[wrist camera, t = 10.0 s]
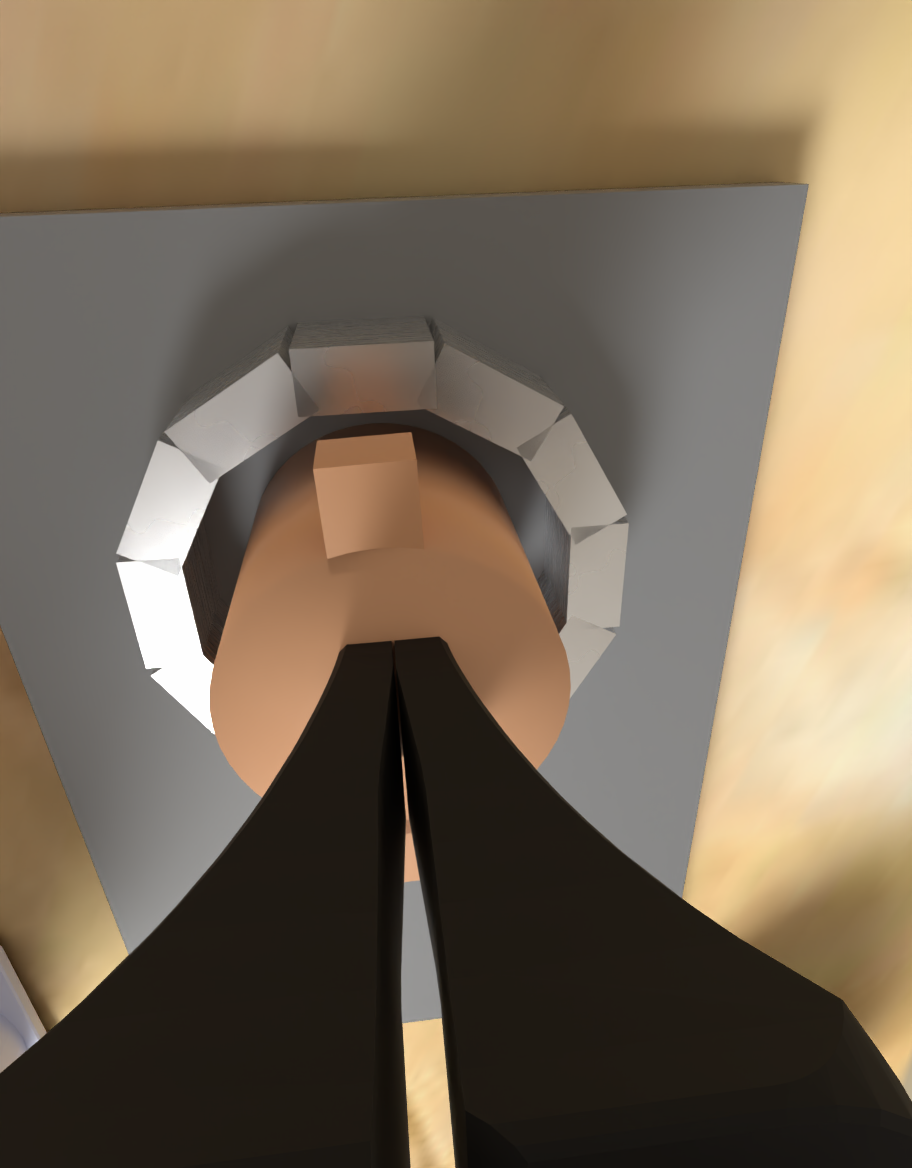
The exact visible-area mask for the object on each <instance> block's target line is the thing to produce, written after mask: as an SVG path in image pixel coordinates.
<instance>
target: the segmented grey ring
mask: <svg viewBox="0 0 912 1168" xmlns="http://www.w3.org/2000/svg"><path fill="white" fill-rule="evenodd" d="M419 409H426V410H428V411H430V412H432V413H434V414H436V415H438V416H440V417H442V418H444V419H446V420H448V421H450V422H452V423H454V424H456V425H458V426H461V427H463V428H465V429H467V430H469V431H471V432H473V433H475V434H477V435H479V436H481V437H483V438H485V439H487V440H489V441H491V442H493V443H495V444H497V445H499V446H501V447H503V448H505V449H507V450H509V451H511V452H513V453H515V454H518V455H520V456H522V458H523V459H524V461H525V463H526V464H527V466H528V468H529V469H530V471H531V472H532V474H533V476H534V477H535V479H536V481H537V482H538V484H539V486H540V487H541V489H542V490H543V492H544V494H545V495H546V503H545V536H544V568H543V572H542V574H541V575H540V577H539V578H538V580H537V583H538V585H539V588H540V590H541V592H542V595H543V597H544V599H545V602H546V604H547V607H548V609H549V611H550V614H551V616H552V619H553V621H554V623H555V626H556V628H557V631H558V633H559V635H560V638H561V640H562V643H563V645H564V648H565V650H566V654H567V659H568V663H569V668H570V682H571V690H570V698H571V696H572V695H573V694H574V692H575V691H576V689H577V688H578V687H579V685H580V684H581V683H582V681H583V680H584V678H585V677H586V676H587V674H588V673H589V671H590V670H591V669H592V667H593V666H594V665H595V663H596V662H597V660H598V659H599V658H600V656H601V655H602V653H603V652H604V651H605V649H606V648H607V647H608V645H609V644H610V642H611V641H612V640H613V638H614V637H615V635H616V632H615V631H614V629H613V627H619V626H620V615H621V604H622V593H623V582H624V571H625V560H626V549H627V538H628V527H629V523H628V521H627V520H626V519H625V517H624V516H625V515H627V513H626V512H625V510H624V508H623V506H622V504H621V502H620V501H619V499H618V497H617V495H616V493H615V492H614V490H613V488H612V486H611V484H610V483H609V481H608V479H607V477H606V475H605V474H604V472H603V470H602V468H601V466H600V464H599V463H598V461H597V459H596V457H595V455H594V454H593V452H592V450H591V448H590V446H589V445H588V443H587V441H586V439H585V437H584V436H583V434H582V432H581V430H580V428H579V427H578V425H577V423H576V421H575V419H574V417H573V416H572V414H571V413H570V411H569V410H568V409H567V408H566V406H565V405H564V404H563V403H562V402H561V400H560V399H559V398H558V397H557V395H556V394H555V393H554V392H553V391H552V389H551V388H550V387H549V386H548V384H547V383H546V382H545V381H543V380H542V379H541V377H540V376H539V375H538V374H537V373H535V372H533V371H531V370H529V369H528V368H526V367H524V366H522V365H520V364H518V363H516V362H515V361H513V360H511V359H509V358H507V357H505V356H503V355H502V354H500V353H498V352H496V351H494V350H492V349H490V348H488V347H487V346H485V345H483V344H481V343H479V342H477V341H475V340H474V339H472V338H470V337H468V336H466V335H464V334H462V333H460V332H459V331H457V330H455V329H453V328H451V327H449V326H447V325H446V324H444V323H442V322H440V321H438V320H436V319H434V318H433V320H432V322H431V324H430V326H429V328H428V325H427V323H426V321H425V318H424V316H410V317H392V318H373V319H354V320H335V321H316V322H298V324H297V327H296V330H295V333H293V331H292V330H291V329H290V327H289V326H287V327H286V328H284V329H283V330H282V331H280V332H279V333H277V334H276V335H274V336H273V337H272V338H270V339H269V340H267V341H266V342H264V343H263V344H262V345H260V346H259V347H257V348H256V349H254V350H253V351H252V352H250V353H249V354H247V355H246V356H244V357H243V358H242V359H240V360H239V361H237V362H236V363H234V364H233V365H232V366H230V367H229V368H227V369H226V370H224V371H223V372H222V373H220V374H219V375H217V376H216V377H214V378H213V379H212V380H210V381H209V382H207V383H206V384H204V385H203V386H202V387H200V388H199V389H197V390H196V391H195V392H193V393H192V394H190V395H189V397H188V398H187V400H186V401H185V402H184V403H183V404H182V406H181V407H180V409H179V410H178V412H177V413H176V415H175V416H174V417H173V419H172V420H171V422H170V423H169V425H168V426H167V428H166V429H165V431H164V432H163V433H162V435H161V436H160V438H159V439H158V441H157V444H156V446H155V449H154V452H153V455H152V457H151V460H150V463H149V466H148V468H147V471H146V474H145V476H144V479H143V482H142V485H141V487H140V490H139V493H138V495H137V498H136V501H135V504H134V506H133V509H132V512H131V515H130V517H129V520H128V523H127V525H126V528H125V531H124V534H123V536H122V539H121V542H120V545H119V547H118V550H117V553H116V554H119V555H120V557H119V559H118V560H117V562H116V565H117V568H118V572H119V575H120V578H121V582H122V585H123V589H124V592H125V596H126V599H127V603H128V606H129V610H130V613H131V617H132V620H133V624H134V627H135V631H136V634H137V638H138V641H139V645H140V648H141V652H142V655H143V659H144V662H145V666H146V668H154V670H153V672H152V675H151V676H152V677H153V678H154V679H155V680H156V681H157V682H158V683H159V684H161V685H162V686H163V687H164V688H165V689H166V690H167V691H168V692H169V693H170V694H171V695H173V696H174V697H175V698H176V699H177V700H178V701H179V702H180V703H181V704H182V705H183V706H185V707H186V708H187V709H188V710H189V711H190V712H191V713H192V714H193V715H194V716H195V717H197V718H198V719H199V720H200V721H201V722H202V723H203V724H204V725H205V726H206V727H207V728H209V729H210V730H211V731H212V732H213V733H214V730H213V726H212V721H211V716H210V711H209V687H210V681H211V674H212V669H213V666H214V662H215V658H216V655H217V651H218V648H219V644H220V641H221V637H222V633H223V630H224V626H225V623H226V619H227V616H228V612H229V608H230V607H229V606H228V605H227V604H226V603H225V602H224V600H223V599H222V598H221V597H220V593H219V589H218V584H217V579H216V575H215V570H214V565H213V561H212V556H211V551H210V547H209V542H208V537H207V533H206V528H205V524H204V519H203V516H204V513H205V511H206V509H207V506H208V504H209V501H210V499H211V496H212V494H213V492H214V489H215V487H216V484H217V482H218V479H219V477H220V476H222V475H223V474H225V473H226V472H228V471H229V470H231V469H232V468H234V467H235V466H237V465H238V464H240V463H241V462H243V461H244V460H246V459H247V458H249V457H250V456H252V455H253V454H255V453H256V452H258V451H259V450H261V449H262V448H264V447H265V446H267V445H268V444H270V443H271V442H273V441H274V440H276V439H277V438H279V437H280V436H281V435H283V434H284V433H286V432H287V431H289V430H290V429H292V428H293V427H295V426H296V425H298V424H299V423H301V422H302V421H304V420H305V419H307V418H308V417H310V416H324V415H340V414H356V413H372V412H388V411H404V410H419ZM214 734H215V733H214Z"/></svg>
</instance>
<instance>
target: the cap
mask: <svg viewBox="0 0 912 1168" xmlns="http://www.w3.org/2000/svg"><path fill="white" fill-rule="evenodd" d="M438 636H439V637H441V638H442V639H443V640H444V641H445V642H447V643H448V646H449V648H450V650H451V652H452V654H453V656H454V658H455V660H456V662H457V664H458V665H459V667H460V669H461V670H462V672H463V674H464V675H465V677H466V678H467V680H468V682H469V683H470V685H471V686H472V688H473V689H474V691H475V692H476V694H477V695H478V697H479V698H480V700H481V701H482V702H483V704H484V705H485V707H486V708H487V709H488V711H489V712H490V713H491V714H492V716H493V717H494V718H495V720H496V721H497V722H498V724H499V725H500V726H501V728H502V729H503V730H504V732H505V733H506V734H507V735H508V737H509V738H510V739H511V740H512V742H513V743H514V744H515V745H516V746H517V748H518V749H519V750H520V751H521V752H522V753H523V755H524V756H525V757H526V758H527V759H528V760H529V761H530V763H531V764H532V765H533V766H534V767H535V768H536V769H538V767H539V766H540V765H541V764H542V762H543V761H544V760H545V759H546V757H547V756H548V754H549V753H550V751H551V749H552V748H553V746H554V744H555V743H556V741H557V739H558V737H559V734H560V732H561V730H562V727H563V725H564V722H565V718H566V715H567V711H568V707H569V700H570V690H571V682H570V668H569V663H568V659H567V654H566V650H565V648H564V645H563V643H562V640H561V638H560V635H559V633H558V631H557V628H556V626H555V623H554V621H553V619H552V616H551V614H550V611H549V609H548V607H547V604H546V602H545V599H544V597H543V595H542V592H541V590H540V588H539V585H538V583H537V580H536V578H535V576H534V573H533V571H532V568H531V566H530V564H529V561H528V559H527V556H526V554H525V552H524V549H523V547H522V544H521V542H520V540H519V537H518V535H517V533H516V530H515V528H514V525H513V523H512V521H511V518H510V516H509V513H508V511H507V509H506V506H505V504H504V501H503V499H502V497H501V494H500V492H499V490H498V488H497V486H496V485H495V483H494V481H493V480H492V478H491V476H490V475H489V474H488V473H487V471H486V470H485V469H484V468H483V466H482V465H481V464H480V463H479V462H478V461H477V460H476V459H475V458H474V457H473V456H472V455H470V454H469V453H468V452H467V451H465V450H464V449H463V448H461V447H460V446H458V445H457V444H456V443H454V442H452V441H450V440H448V439H446V438H444V437H443V436H441V435H438V434H436V433H433V432H430V431H428V430H425V429H422V428H417V427H413V426H409V425H402V424H392V423H370V424H363V425H357V426H351V427H347V428H344V429H340V430H337V431H334V432H331V433H329V434H327V435H325V436H322V437H320V438H318V439H316V440H314V441H313V442H311V443H309V444H308V445H306V446H304V447H303V448H302V449H300V450H299V451H298V452H297V453H295V454H294V455H293V456H292V457H290V458H289V459H288V460H287V461H286V462H285V463H284V465H283V466H282V467H281V468H280V469H279V470H278V471H277V472H276V474H275V475H274V477H273V478H272V480H271V481H270V482H269V484H268V486H267V488H266V490H265V492H264V494H263V496H262V498H261V500H260V503H259V506H258V509H257V512H256V515H255V519H254V523H253V526H252V530H251V533H250V537H249V540H248V544H247V548H246V551H245V555H244V558H243V562H242V565H241V569H240V573H239V576H238V580H237V583H236V587H235V590H234V594H233V598H232V601H231V605H230V608H229V612H228V616H227V619H226V623H225V626H224V630H223V633H222V637H221V641H220V644H219V648H218V651H217V655H216V658H215V662H214V666H213V669H212V674H211V681H210V687H209V711H210V716H211V721H212V726H213V730H214V733H215V736H216V738H217V741H218V744H219V746H220V748H221V750H222V752H223V754H224V755H225V757H226V759H227V761H228V763H229V764H230V765H231V767H232V768H233V769H234V770H235V772H236V773H237V774H238V776H239V777H240V778H241V779H242V780H243V781H244V782H245V783H246V784H247V785H248V786H249V787H250V788H251V789H252V790H253V791H254V792H255V793H257V794H258V795H259V796H261V797H263V796H264V794H265V793H266V791H267V789H268V788H269V786H270V785H271V783H272V782H273V780H274V778H275V777H276V775H277V774H278V772H279V771H280V769H281V767H282V766H283V764H284V763H285V761H286V759H287V758H288V756H289V755H290V753H291V752H292V750H293V748H294V746H295V745H296V743H297V741H298V739H299V738H300V736H301V734H302V732H303V730H304V728H305V726H306V725H307V723H308V721H309V719H310V717H311V715H312V713H313V712H314V710H315V708H316V706H317V704H318V702H319V700H320V698H321V696H322V693H323V691H324V689H325V687H326V685H327V683H328V680H329V678H330V676H331V673H332V671H333V668H334V666H335V663H336V660H337V657H338V654H339V652H340V651H341V650H342V649H343V648H344V647H345V646H346V645H347V644H360V643H371V642H383V641H392V652H393V663H394V675H395V687H396V698H397V710H398V721H399V733H400V744H401V756H402V769H403V783H404V797H405V810H406V837H405V871H404V882H410V881H418V880H420V878H419V872H418V867H417V861H416V856H415V850H414V844H413V839H412V833H411V827H410V822H409V814H408V802H407V790H406V779H405V767H404V755H403V744H402V732H401V720H400V708H399V697H398V685H397V673H396V659H395V642H394V640H406V639H416V638H427V637H438Z"/></svg>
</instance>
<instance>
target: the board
mask: <svg viewBox="0 0 912 1168" xmlns="http://www.w3.org/2000/svg"><path fill="white" fill-rule="evenodd" d="M808 185H809V184H798V183H784V182H772V183H746V184H721V185H696V186H671V187H646V188H621V189H596V190H571V191H546V192H521V193H496V194H471V195H446V196H421V197H396V198H371V199H346V200H321V201H296V202H271V203H246V204H221V205H196V206H171V207H146V208H120V209H95V210H70V211H45V212H20V213H0V626H1V629H2V631H3V634H4V636H5V639H6V642H7V644H8V647H9V649H10V652H11V654H12V657H13V659H14V662H15V665H16V667H17V670H18V672H19V675H20V677H21V680H22V683H23V685H24V688H25V690H26V693H27V695H28V698H29V700H30V703H31V706H32V708H33V711H34V713H35V716H36V718H37V721H38V723H39V726H40V729H41V731H42V734H43V736H44V739H45V741H46V744H47V746H48V749H49V752H50V754H51V757H52V759H53V762H54V764H55V767H56V769H57V772H58V775H59V777H60V780H61V782H62V785H63V787H64V790H65V792H66V795H67V798H68V800H69V803H70V805H71V808H72V810H73V813H74V815H75V818H76V821H77V823H78V826H79V828H80V831H81V833H82V836H83V839H84V841H85V844H86V846H87V849H88V851H89V854H90V856H91V859H92V862H93V864H94V867H95V869H96V872H97V874H98V877H99V879H100V882H101V885H102V887H103V890H104V892H105V895H106V897H107V900H108V902H109V905H110V908H111V910H112V913H113V915H114V918H115V920H116V923H117V925H118V928H119V931H120V933H121V936H122V938H123V941H124V943H125V946H126V948H127V951H128V954H130V953H131V952H132V951H133V950H134V949H136V948H137V947H138V946H139V945H140V944H141V943H142V942H143V941H144V940H145V939H146V938H147V937H148V936H149V935H150V934H151V933H152V932H153V930H154V929H155V928H156V927H157V926H158V925H159V924H160V923H161V922H162V921H163V920H164V919H165V918H166V916H167V915H168V914H169V913H170V912H171V911H172V910H173V909H174V908H175V907H176V906H177V904H178V903H179V902H180V901H181V900H182V899H183V898H184V896H185V895H186V894H187V893H188V892H189V891H190V889H191V888H192V887H193V886H194V885H195V883H196V882H197V881H198V880H199V879H200V878H201V876H202V875H203V874H204V873H205V872H206V871H207V869H208V868H209V867H210V866H211V865H212V864H213V862H214V861H215V860H216V859H217V858H218V856H219V855H220V854H221V853H222V851H223V850H224V849H225V847H226V846H227V845H228V843H229V842H230V841H231V840H232V838H233V837H234V836H235V834H236V833H237V832H238V831H239V829H240V828H241V827H242V825H243V824H244V822H245V821H246V820H247V818H248V817H249V816H250V814H251V813H252V811H253V810H254V809H255V807H256V806H257V804H258V803H259V801H260V800H261V799H262V797H261V796H259V795H258V794H257V793H255V792H254V791H253V790H252V789H251V788H250V787H249V786H248V785H247V784H246V783H245V782H244V781H243V780H242V779H241V778H240V777H239V776H238V774H237V773H236V772H235V770H234V769H233V768H232V767H231V765H230V764H229V763H228V761H227V759H226V757H225V755H224V754H223V752H222V750H221V748H220V746H219V744H218V741H217V738H216V736H215V734H214V733H213V732H212V731H211V730H210V729H209V728H207V727H206V726H205V725H204V724H203V723H202V722H201V721H200V720H199V719H198V718H197V717H195V716H194V715H193V714H192V713H191V712H190V711H189V710H188V709H187V708H186V707H185V706H183V705H182V704H181V703H180V702H179V701H178V700H177V699H176V698H175V697H174V696H173V695H171V694H170V693H169V692H168V691H167V690H166V689H165V688H164V687H163V686H162V685H161V684H159V683H158V682H157V681H156V680H155V679H154V678H153V677H152V676H151V675H152V672H153V670H154V668H146V666H145V662H144V659H143V655H142V652H141V648H140V645H139V641H138V638H137V634H136V631H135V627H134V624H133V620H132V617H131V613H130V610H129V606H128V603H127V599H126V596H125V592H124V589H123V585H122V582H121V578H120V575H119V572H118V568H117V565H116V562H117V560H118V559H119V557H120V555H119V554H116V553H117V550H118V547H119V545H120V542H121V539H122V536H123V534H124V531H125V528H126V525H127V523H128V520H129V517H130V515H131V512H132V509H133V506H134V504H135V501H136V498H137V495H138V493H139V490H140V487H141V485H142V482H143V479H144V476H145V474H146V471H147V468H148V466H149V463H150V460H151V457H152V455H153V452H154V449H155V446H156V444H157V441H158V439H159V438H160V436H161V435H162V433H163V432H164V431H165V429H166V428H167V426H168V425H169V423H170V422H171V420H172V419H173V417H174V416H175V415H176V413H177V412H178V410H179V409H180V407H181V406H182V404H183V403H184V402H185V401H186V400H187V398H188V397H189V395H190V394H192V393H193V392H195V391H196V390H197V389H199V388H200V387H202V386H203V385H204V384H206V383H207V382H209V381H210V380H212V379H213V378H214V377H216V376H217V375H219V374H220V373H222V372H223V371H224V370H226V369H227V368H229V367H230V366H232V365H233V364H234V363H236V362H237V361H239V360H240V359H242V358H243V357H244V356H246V355H247V354H249V353H250V352H252V351H253V350H254V349H256V348H257V347H259V346H260V345H262V344H263V343H264V342H266V341H267V340H269V339H270V338H272V337H273V336H274V335H276V334H277V333H279V332H280V331H282V330H283V329H284V328H286V327H287V326H289V327H290V329H291V330H292V331H293V333H295V330H296V327H297V324H298V322H316V321H335V320H354V319H373V318H392V317H410V316H424V318H425V321H426V323H427V325H428V328H429V326H430V324H431V322H432V320H433V318H434V319H436V320H438V321H440V322H442V323H444V324H446V325H447V326H449V327H451V328H453V329H455V330H457V331H459V332H460V333H462V334H464V335H466V336H468V337H470V338H472V339H474V340H475V341H477V342H479V343H481V344H483V345H485V346H487V347H488V348H490V349H492V350H494V351H496V352H498V353H500V354H502V355H503V356H505V357H507V358H509V359H511V360H513V361H515V362H516V363H518V364H520V365H522V366H524V367H526V368H528V369H529V370H531V371H533V372H535V373H537V374H538V375H539V376H540V377H541V379H542V380H543V381H545V382H546V383H547V384H548V386H549V387H550V388H551V389H552V391H553V392H554V393H555V394H556V395H557V397H558V398H559V399H560V400H561V402H562V403H563V404H564V405H565V406H566V408H567V409H568V410H569V411H570V413H571V414H572V416H573V417H574V419H575V421H576V423H577V425H578V427H579V428H580V430H581V432H582V434H583V436H584V437H585V439H586V441H587V443H588V445H589V446H590V448H591V450H592V452H593V454H594V455H595V457H596V459H597V461H598V463H599V464H600V466H601V468H602V470H603V472H604V474H605V475H606V477H607V479H608V481H609V483H610V484H611V486H612V488H613V490H614V492H615V493H616V495H617V497H618V499H619V501H620V502H621V504H622V506H623V508H624V510H625V512H626V513H627V515H625V516H624V517H625V519H626V520H627V521H628V523H629V527H628V538H627V549H626V560H625V571H624V582H623V593H622V604H621V615H620V626H619V627H613V629H614V631H615V632H616V635H615V637H614V638H613V640H612V641H611V642H610V644H609V645H608V647H607V648H606V649H605V651H604V652H603V653H602V655H601V656H600V658H599V659H598V660H597V662H596V663H595V665H594V666H593V667H592V669H591V670H590V671H589V673H588V674H587V676H586V677H585V678H584V680H583V681H582V683H581V684H580V685H579V687H578V688H577V689H576V691H575V692H574V694H573V695H572V696H571V698H570V700H569V707H568V711H567V715H566V718H565V722H564V725H563V727H562V730H561V732H560V734H559V737H558V739H557V741H556V743H555V744H554V746H553V748H552V749H551V751H550V753H549V754H548V756H547V757H546V759H545V760H544V761H543V762H542V764H541V765H540V766H539V767H538V769H537V771H538V772H539V773H540V774H541V775H542V776H543V777H544V778H545V779H546V780H547V781H548V782H549V784H550V785H551V786H552V787H553V788H554V789H555V790H556V791H557V792H558V793H559V794H560V795H561V796H562V797H563V798H564V799H565V800H566V801H567V802H568V803H569V804H570V805H571V806H572V807H573V808H574V809H575V810H576V811H578V812H579V813H580V814H581V815H582V816H583V817H584V818H585V819H586V820H587V821H588V822H589V823H590V824H591V825H592V826H594V827H595V828H596V829H597V830H598V831H599V832H600V833H601V834H603V835H604V836H605V837H606V838H607V839H608V840H609V841H610V842H612V843H613V844H614V845H615V846H616V847H617V848H618V849H620V850H621V851H622V852H623V853H624V854H626V855H627V856H628V857H629V858H631V859H632V860H633V861H635V862H636V863H637V864H638V865H640V866H641V867H642V868H644V869H645V870H646V871H647V872H649V873H650V874H651V875H653V876H654V877H655V878H656V879H658V880H659V881H660V882H662V883H663V884H664V885H665V886H667V887H668V888H669V889H671V890H672V891H673V892H674V893H676V894H677V895H678V896H680V897H681V898H682V894H683V889H684V883H685V877H686V872H687V866H688V861H689V855H690V849H691V844H692V838H693V832H694V827H695V821H696V816H697V810H698V804H699V799H700V793H701V787H702V782H703V776H704V771H705V765H706V759H707V754H708V748H709V742H710V737H711V731H712V726H713V720H714V714H715V709H716V703H717V697H718V692H719V686H720V681H721V675H722V669H723V664H724V658H725V652H726V647H727V641H728V636H729V630H730V624H731V619H732V613H733V607H734V602H735V596H736V590H737V585H738V579H739V574H740V568H741V562H742V557H743V551H744V545H745V540H746V534H747V529H748V523H749V517H750V512H751V506H752V500H753V495H754V489H755V484H756V478H757V472H758V467H759V461H760V455H761V450H762V444H763V439H764V433H765V427H766V422H767V416H768V410H769V405H770V399H771V394H772V388H773V382H774V377H775V371H776V365H777V360H778V354H779V349H780V343H781V337H782V332H783V326H784V320H785V315H786V309H787V304H788V298H789V292H790V287H791V281H792V275H793V270H794V264H795V259H796V253H797V247H798V242H799V236H800V230H801V225H802V219H803V213H804V208H805V202H806V197H807V191H808ZM370 423H392V424H402V425H409V426H413V427H417V428H422V429H425V430H428V431H430V432H433V433H436V434H438V435H441V436H443V437H444V438H446V439H448V440H450V441H452V442H454V443H456V444H457V445H458V446H460V447H461V448H463V449H464V450H465V451H467V452H468V453H469V454H470V455H472V456H473V457H474V458H475V459H476V460H477V461H478V462H479V463H480V464H481V465H482V466H483V468H484V469H485V470H486V471H487V473H488V474H489V475H490V476H491V478H492V480H493V481H494V483H495V485H496V486H497V488H498V490H499V492H500V494H501V497H502V499H503V501H504V504H505V506H506V509H507V511H508V513H509V516H510V518H511V521H512V523H513V525H514V528H515V530H516V533H517V535H518V537H519V540H520V542H521V544H522V547H523V549H524V552H525V554H526V556H527V559H528V561H529V564H530V566H531V568H532V571H533V573H534V576H535V578H536V580H538V578H539V577H540V575H541V574H542V572H543V568H544V536H545V503H546V495H545V494H544V492H543V490H542V489H541V487H540V486H539V484H538V482H537V481H536V479H535V477H534V476H533V474H532V472H531V471H530V469H529V468H528V466H527V464H526V463H525V461H524V459H523V458H522V456H520V455H518V454H515V453H513V452H511V451H509V450H507V449H505V448H503V447H501V446H499V445H497V444H495V443H493V442H491V441H489V440H487V439H485V438H483V437H481V436H479V435H477V434H475V433H473V432H471V431H469V430H467V429H465V428H463V427H461V426H458V425H456V424H454V423H452V422H450V421H448V420H446V419H444V418H442V417H440V416H438V415H436V414H434V413H432V412H430V411H428V410H426V409H419V410H404V411H388V412H372V413H356V414H340V415H324V416H310V417H308V418H307V419H305V420H304V421H302V422H301V423H299V424H298V425H296V426H295V427H293V428H292V429H290V430H289V431H287V432H286V433H284V434H283V435H281V436H280V437H279V438H277V439H276V440H274V441H273V442H271V443H270V444H268V445H267V446H265V447H264V448H262V449H261V450H259V451H258V452H256V453H255V454H253V455H252V456H250V457H249V458H247V459H246V460H244V461H243V462H241V463H240V464H238V465H237V466H235V467H234V468H232V469H231V470H229V471H228V472H226V473H225V474H223V475H222V476H220V477H219V479H218V482H217V484H216V487H215V489H214V492H213V494H212V496H211V499H210V501H209V504H208V506H207V509H206V511H205V513H204V516H203V519H204V524H205V528H206V533H207V537H208V542H209V547H210V551H211V556H212V561H213V565H214V570H215V575H216V579H217V584H218V589H219V593H220V597H221V598H222V599H223V600H224V602H225V603H226V604H227V605H228V606H229V607H230V605H231V601H232V598H233V594H234V590H235V587H236V583H237V580H238V576H239V573H240V569H241V565H242V562H243V558H244V555H245V551H246V548H247V544H248V540H249V537H250V533H251V530H252V526H253V523H254V519H255V515H256V512H257V509H258V506H259V503H260V500H261V498H262V496H263V494H264V492H265V490H266V488H267V486H268V484H269V482H270V481H271V480H272V478H273V477H274V475H275V474H276V472H277V471H278V470H279V469H280V468H281V467H282V466H283V465H284V463H285V462H286V461H287V460H288V459H289V458H290V457H292V456H293V455H294V454H295V453H297V452H298V451H299V450H300V449H302V448H303V447H304V446H306V445H308V444H309V443H311V442H313V441H314V440H316V439H318V438H320V437H322V436H325V435H327V434H329V433H331V432H334V431H337V430H340V429H344V428H347V427H351V426H357V425H363V424H370ZM401 1004H402V1023H408V1022H415V1021H423V1020H431V1019H438V1018H442V1013H441V1003H440V996H439V989H438V981H437V974H436V967H435V962H434V956H433V951H432V945H431V939H430V934H429V928H428V923H427V917H426V911H425V906H424V900H423V895H422V889H421V884H420V880H418V881H410V882H404V902H403V934H402V965H401Z"/></svg>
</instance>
